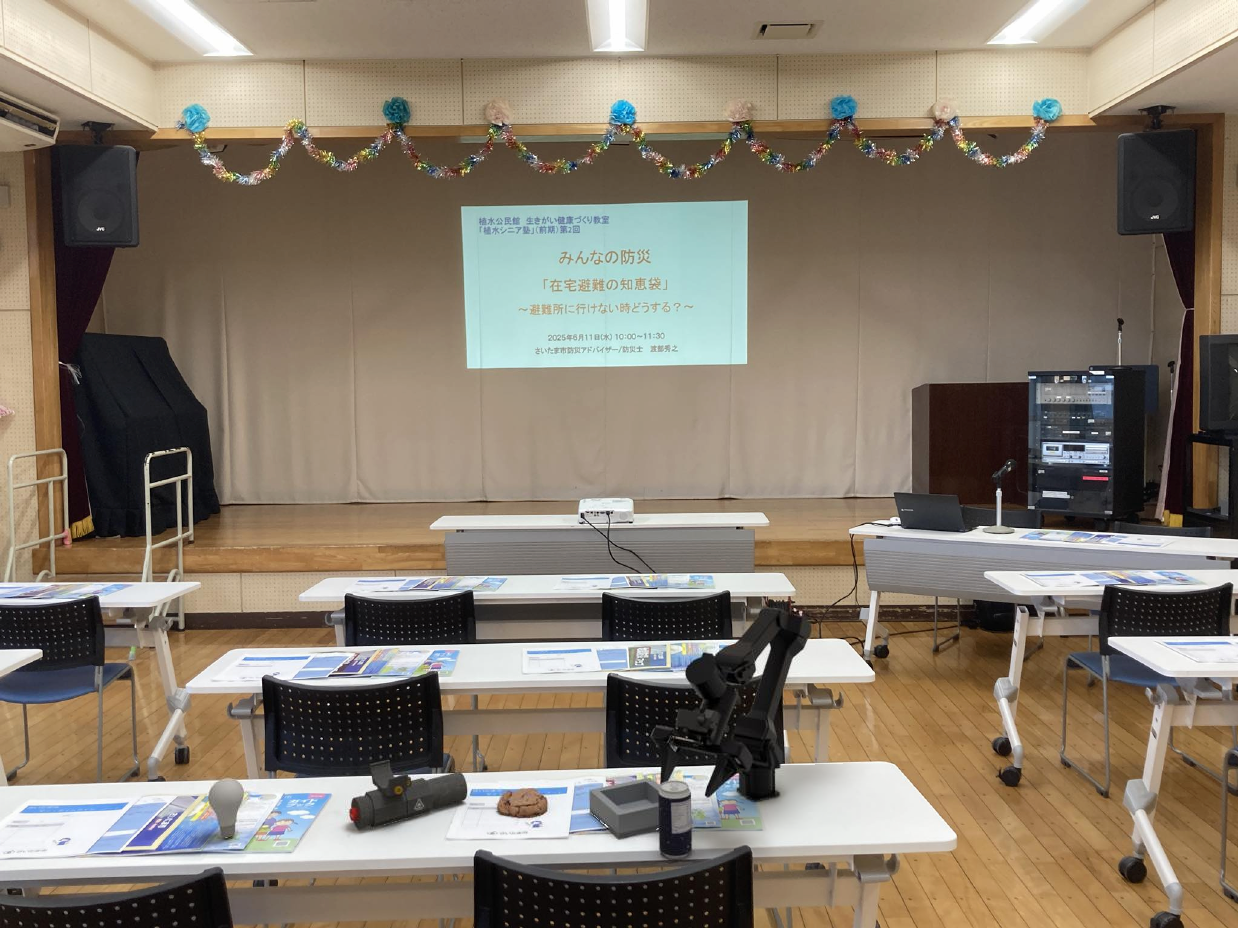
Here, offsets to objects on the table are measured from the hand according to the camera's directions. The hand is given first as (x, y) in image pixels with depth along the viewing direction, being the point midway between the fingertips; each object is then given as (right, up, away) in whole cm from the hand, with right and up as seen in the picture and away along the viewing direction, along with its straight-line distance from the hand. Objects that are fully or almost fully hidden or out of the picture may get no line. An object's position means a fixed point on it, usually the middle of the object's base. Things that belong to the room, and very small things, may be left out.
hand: (683, 790), depth 170 cm
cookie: (-30, -10, +19) cm, 37 cm away
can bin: (-8, -10, +13) cm, 18 cm away
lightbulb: (-84, -12, +8) cm, 85 cm away
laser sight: (-52, -11, +17) cm, 56 cm away
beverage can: (-1, -10, -2) cm, 11 cm away
